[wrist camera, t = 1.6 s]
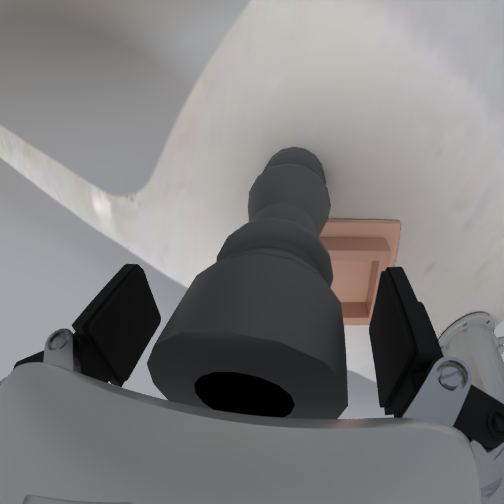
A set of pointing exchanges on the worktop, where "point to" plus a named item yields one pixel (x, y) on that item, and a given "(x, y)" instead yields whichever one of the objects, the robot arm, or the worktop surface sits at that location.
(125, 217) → the worktop surface
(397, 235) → the square tray
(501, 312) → the worktop surface
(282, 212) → the candle holder
